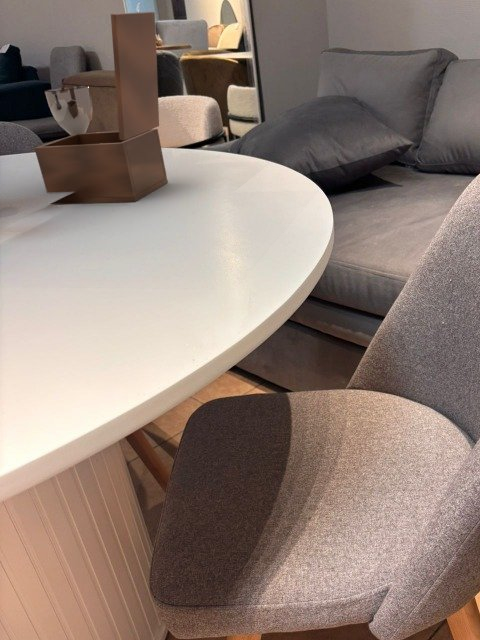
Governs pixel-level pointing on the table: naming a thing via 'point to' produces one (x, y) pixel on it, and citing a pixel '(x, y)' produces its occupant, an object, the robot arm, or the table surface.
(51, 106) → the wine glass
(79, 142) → the chest
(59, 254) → the table surface
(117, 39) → the lid
